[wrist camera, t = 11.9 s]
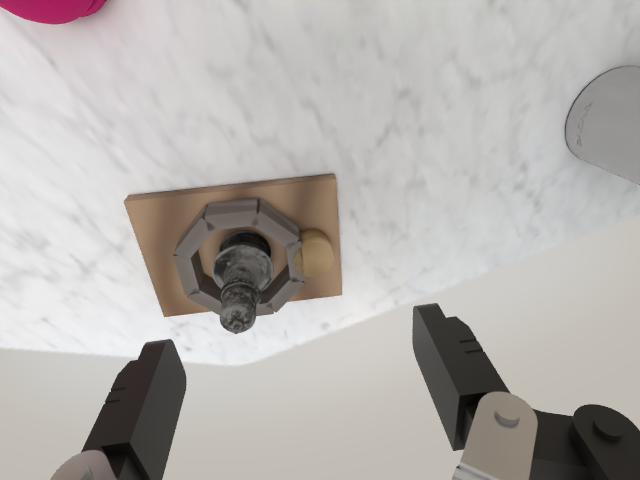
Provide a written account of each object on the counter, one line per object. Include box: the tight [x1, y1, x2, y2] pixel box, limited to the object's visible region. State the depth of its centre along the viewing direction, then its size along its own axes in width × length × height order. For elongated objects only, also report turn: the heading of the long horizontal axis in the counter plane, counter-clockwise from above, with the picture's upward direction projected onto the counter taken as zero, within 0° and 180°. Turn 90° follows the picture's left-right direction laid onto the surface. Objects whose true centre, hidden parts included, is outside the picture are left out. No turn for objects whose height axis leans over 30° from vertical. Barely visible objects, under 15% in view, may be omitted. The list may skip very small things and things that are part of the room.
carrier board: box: [124, 174, 342, 317], centre depth 39 cm, size 20×14×4 cm
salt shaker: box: [212, 230, 274, 334], centre depth 35 cm, size 6×6×12 cm
